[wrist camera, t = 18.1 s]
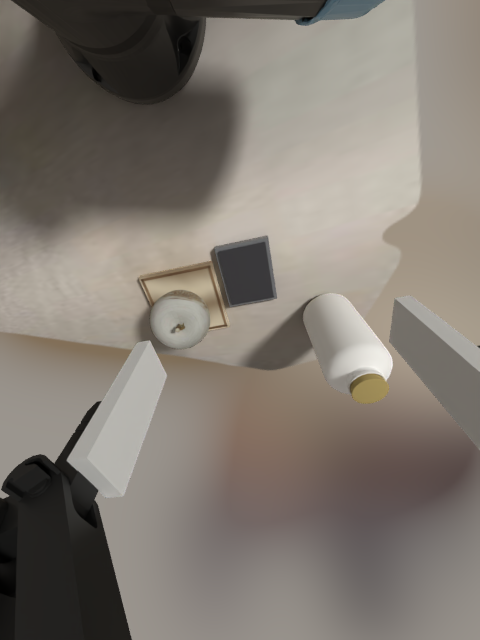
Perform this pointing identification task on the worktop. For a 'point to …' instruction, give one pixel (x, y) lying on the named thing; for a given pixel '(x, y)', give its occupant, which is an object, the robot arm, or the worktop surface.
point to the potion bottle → (347, 348)
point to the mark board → (189, 288)
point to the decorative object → (180, 319)
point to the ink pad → (247, 271)
